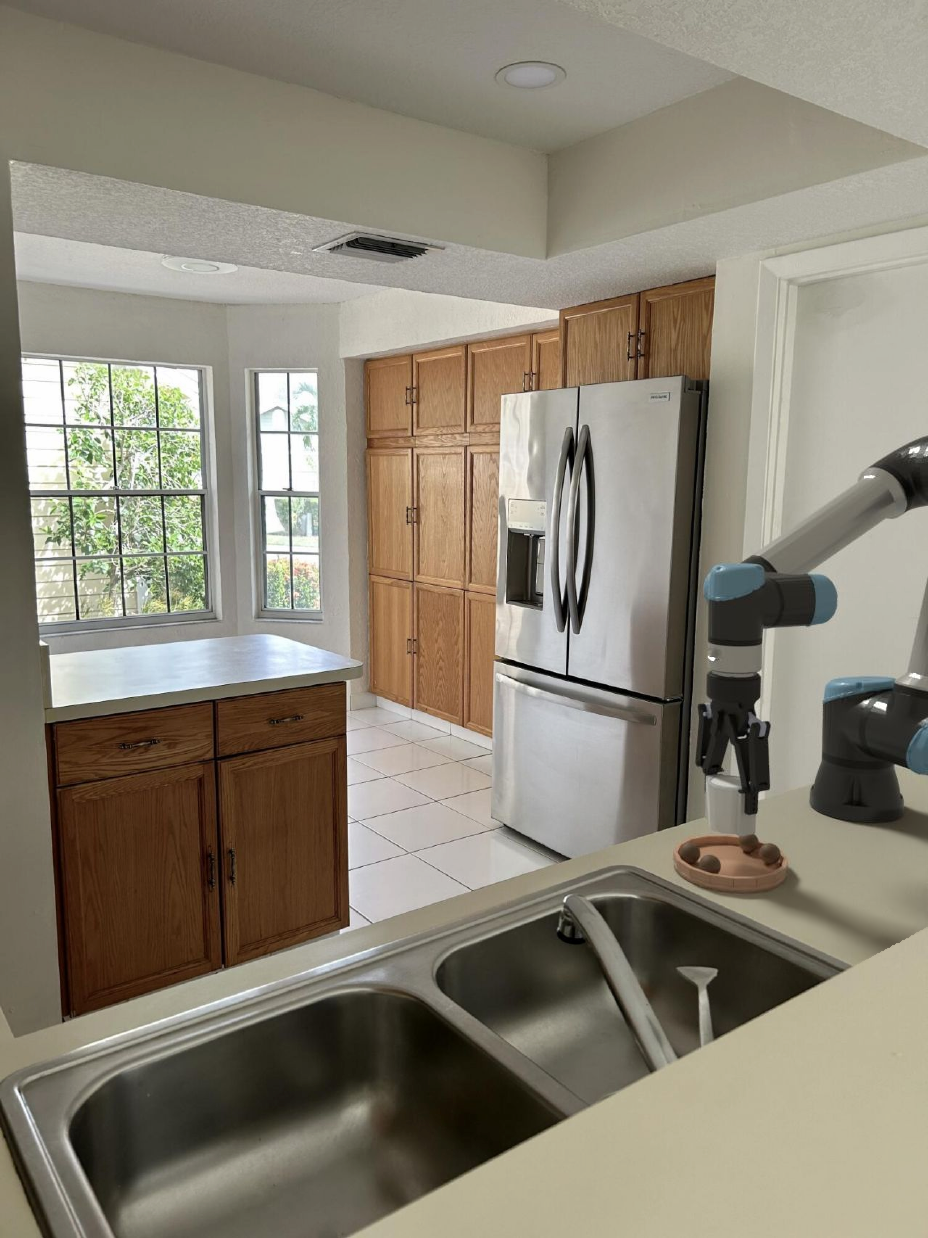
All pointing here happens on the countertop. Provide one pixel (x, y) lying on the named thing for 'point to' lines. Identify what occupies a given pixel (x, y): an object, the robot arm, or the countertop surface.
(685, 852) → the bead
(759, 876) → the tray
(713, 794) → the white cup
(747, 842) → the bead
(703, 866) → the bead
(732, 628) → the robot arm
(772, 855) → the bead
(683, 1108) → the countertop surface
